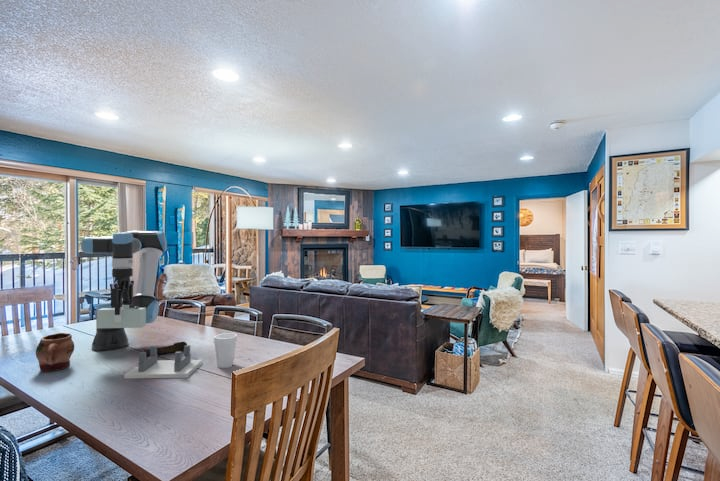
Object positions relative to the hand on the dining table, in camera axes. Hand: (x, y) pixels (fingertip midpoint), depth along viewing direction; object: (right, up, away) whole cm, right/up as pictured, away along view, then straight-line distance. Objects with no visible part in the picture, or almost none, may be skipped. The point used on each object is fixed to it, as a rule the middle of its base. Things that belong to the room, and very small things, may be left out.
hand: (121, 320), depth 154 cm
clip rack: (+24, -19, -8) cm, 31 cm away
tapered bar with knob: (0, -3, 0) cm, 3 cm away
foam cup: (+46, -20, -1) cm, 50 cm away
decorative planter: (-23, -19, -8) cm, 30 cm away
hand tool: (+12, -19, +14) cm, 27 cm away
